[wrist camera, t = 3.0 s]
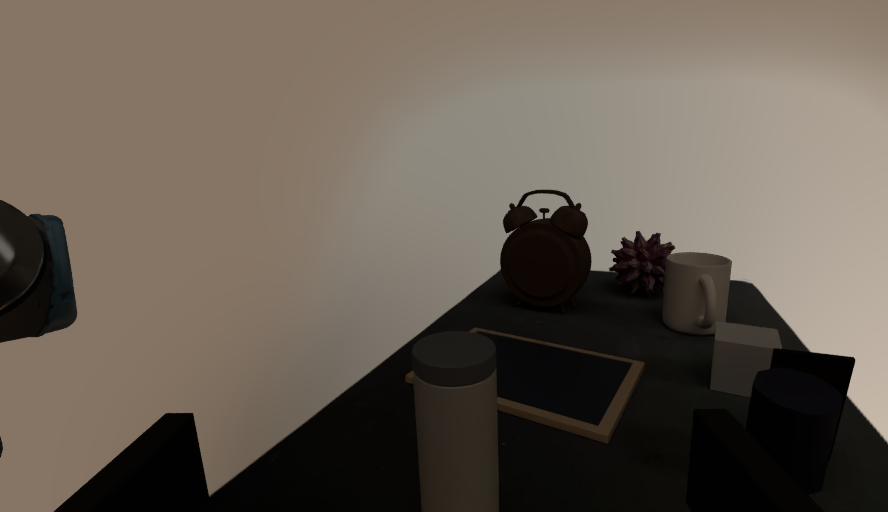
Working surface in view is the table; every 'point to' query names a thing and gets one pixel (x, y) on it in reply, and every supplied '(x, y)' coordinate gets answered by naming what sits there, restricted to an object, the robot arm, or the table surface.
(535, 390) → the picture frame
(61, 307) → the robot arm
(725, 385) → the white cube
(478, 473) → the grey-capped cream cylinder
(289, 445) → the table surface
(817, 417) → the speaker
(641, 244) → the flower
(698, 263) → the mug
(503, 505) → the table surface
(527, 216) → the alarm clock
